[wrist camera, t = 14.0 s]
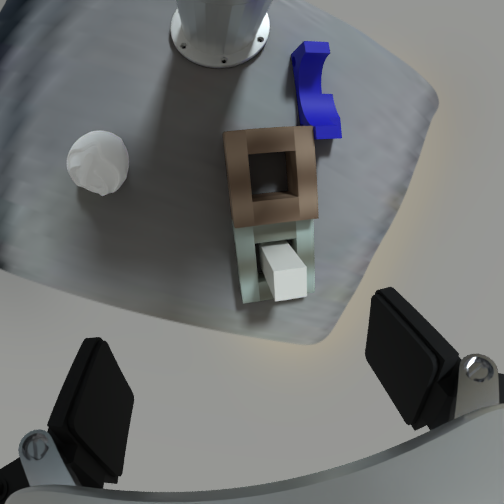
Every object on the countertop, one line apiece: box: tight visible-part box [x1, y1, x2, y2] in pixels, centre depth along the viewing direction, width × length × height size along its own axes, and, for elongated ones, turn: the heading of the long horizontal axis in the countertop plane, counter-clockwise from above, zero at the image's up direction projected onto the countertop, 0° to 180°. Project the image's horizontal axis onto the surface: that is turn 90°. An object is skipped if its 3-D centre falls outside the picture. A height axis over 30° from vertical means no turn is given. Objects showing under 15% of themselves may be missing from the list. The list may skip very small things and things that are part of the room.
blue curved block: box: [291, 41, 342, 139], centre depth 32 cm, size 12×4×6 cm, turn 7°
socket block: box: [223, 126, 318, 304], centre depth 37 cm, size 22×10×5 cm, turn 5°
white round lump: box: [67, 131, 129, 196], centre depth 31 cm, size 8×8×8 cm
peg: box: [259, 240, 307, 301], centre depth 37 cm, size 4×4×10 cm
